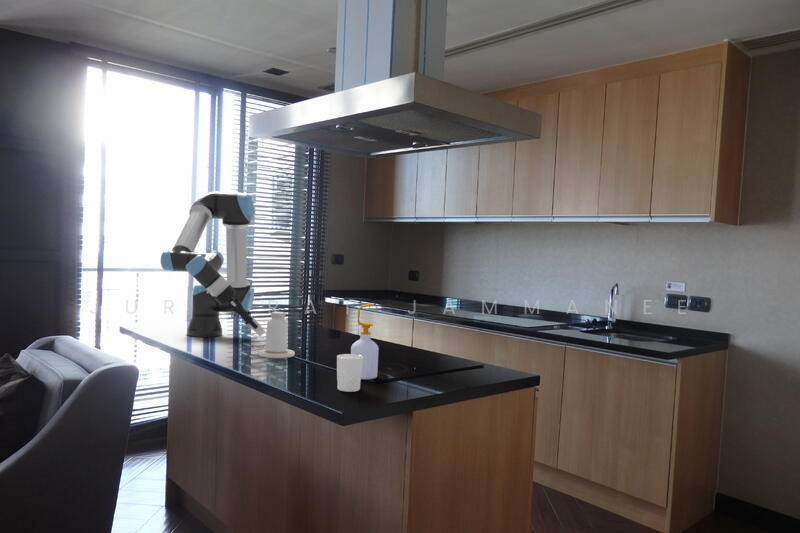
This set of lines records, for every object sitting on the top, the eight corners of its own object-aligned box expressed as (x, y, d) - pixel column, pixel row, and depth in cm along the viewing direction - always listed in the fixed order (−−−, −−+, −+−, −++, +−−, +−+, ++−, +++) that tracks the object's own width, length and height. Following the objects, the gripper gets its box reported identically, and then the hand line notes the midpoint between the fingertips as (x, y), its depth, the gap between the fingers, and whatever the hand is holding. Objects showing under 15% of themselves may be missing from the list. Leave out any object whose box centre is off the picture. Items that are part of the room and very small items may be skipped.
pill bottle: (284, 353, 220) (286, 314, 220) (263, 352, 220) (265, 312, 220) (288, 350, 228) (290, 311, 228) (268, 348, 228) (270, 310, 228)
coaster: (256, 351, 229) (256, 348, 229) (291, 351, 233) (292, 347, 233) (259, 358, 215) (259, 354, 215) (297, 358, 220) (297, 354, 220)
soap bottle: (377, 380, 190) (381, 305, 189) (349, 379, 189) (353, 304, 189) (376, 374, 199) (380, 302, 198) (350, 373, 198) (353, 301, 198)
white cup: (356, 393, 171) (358, 359, 171) (331, 390, 173) (333, 357, 173) (365, 387, 179) (366, 355, 179) (341, 385, 181) (342, 353, 181)
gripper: (212, 294, 227) (250, 333, 233) (214, 301, 204) (256, 343, 209) (227, 281, 229) (264, 320, 234) (231, 286, 205) (272, 329, 211)
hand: (260, 331), depth 222 cm, fingers open, 13 cm apart
